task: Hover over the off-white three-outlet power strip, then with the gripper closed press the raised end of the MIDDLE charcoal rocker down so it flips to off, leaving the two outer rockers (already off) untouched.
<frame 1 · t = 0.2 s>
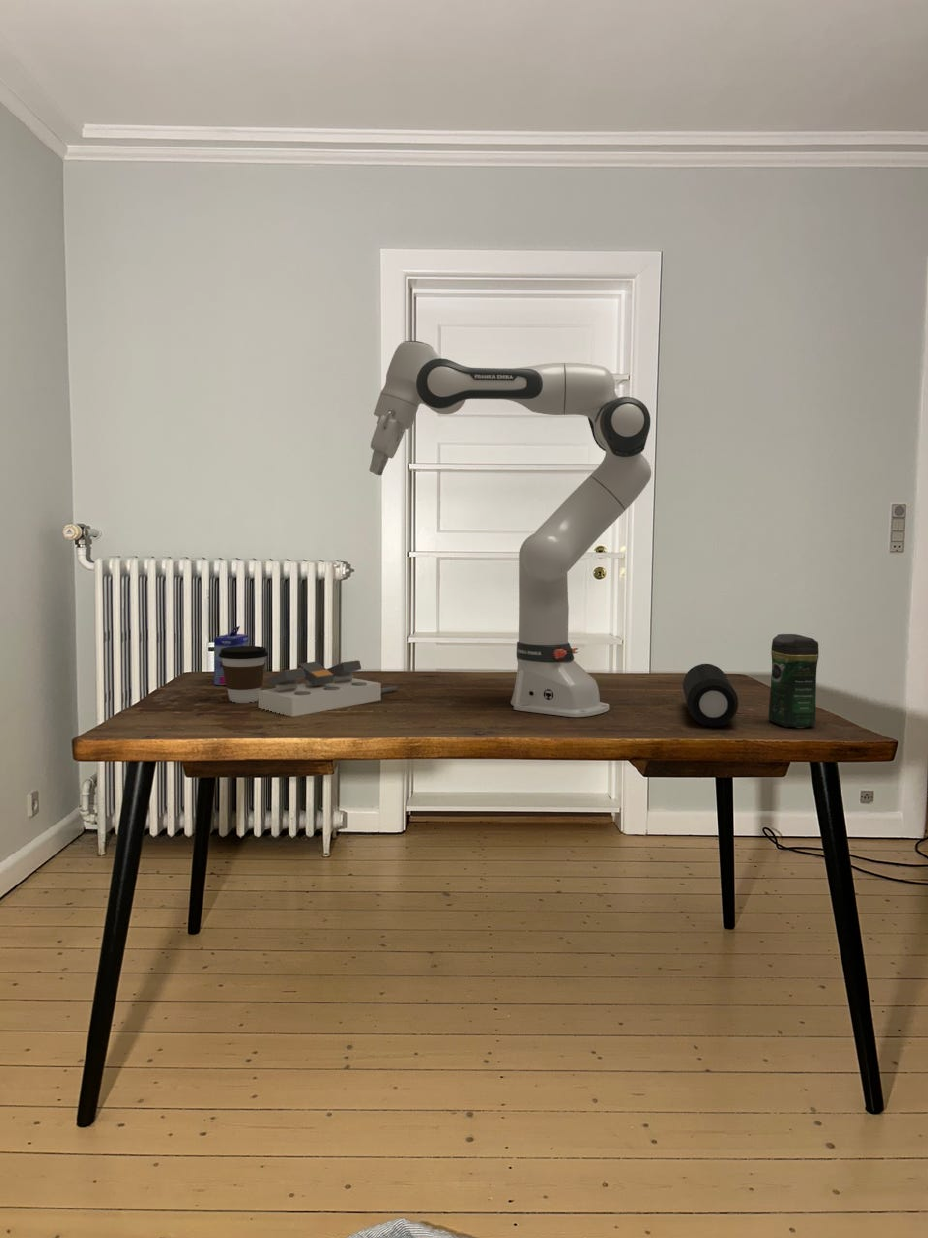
hand: (375, 473, 195), 52 cm above the table, tool tilted 20°, fingers open, 8 cm apart
coffee cup: (244, 701, 202), on the table
rocker 1: (342, 669, 204), point 7 cm above the table, hinge at 20.0°
ink cartridge box: (231, 683, 224), on the table
rocker 3: (286, 677, 193), point 7 cm above the table, hinge at 20.0°
rocker 2: (315, 673, 198), point 7 cm above the table, hinge at -20.0°
coffee jar: (791, 725, 181), on the table
power strip: (321, 704, 198), on the table
portable speaker: (708, 717, 188), on the table
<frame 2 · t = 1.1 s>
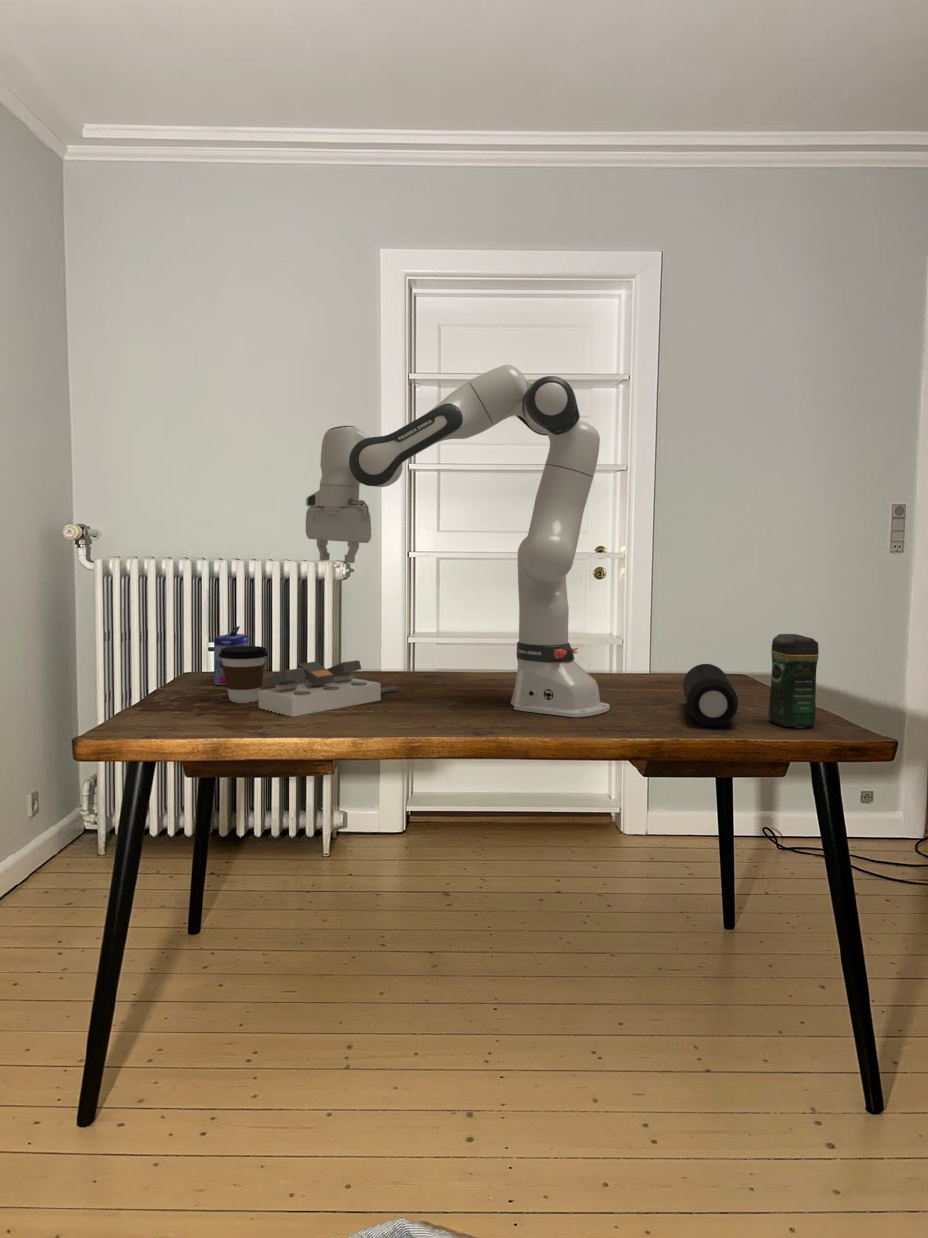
hand: (336, 561, 198), 32 cm above the table, tool pointing down, fingers open, 8 cm apart
nothing on the table moved.
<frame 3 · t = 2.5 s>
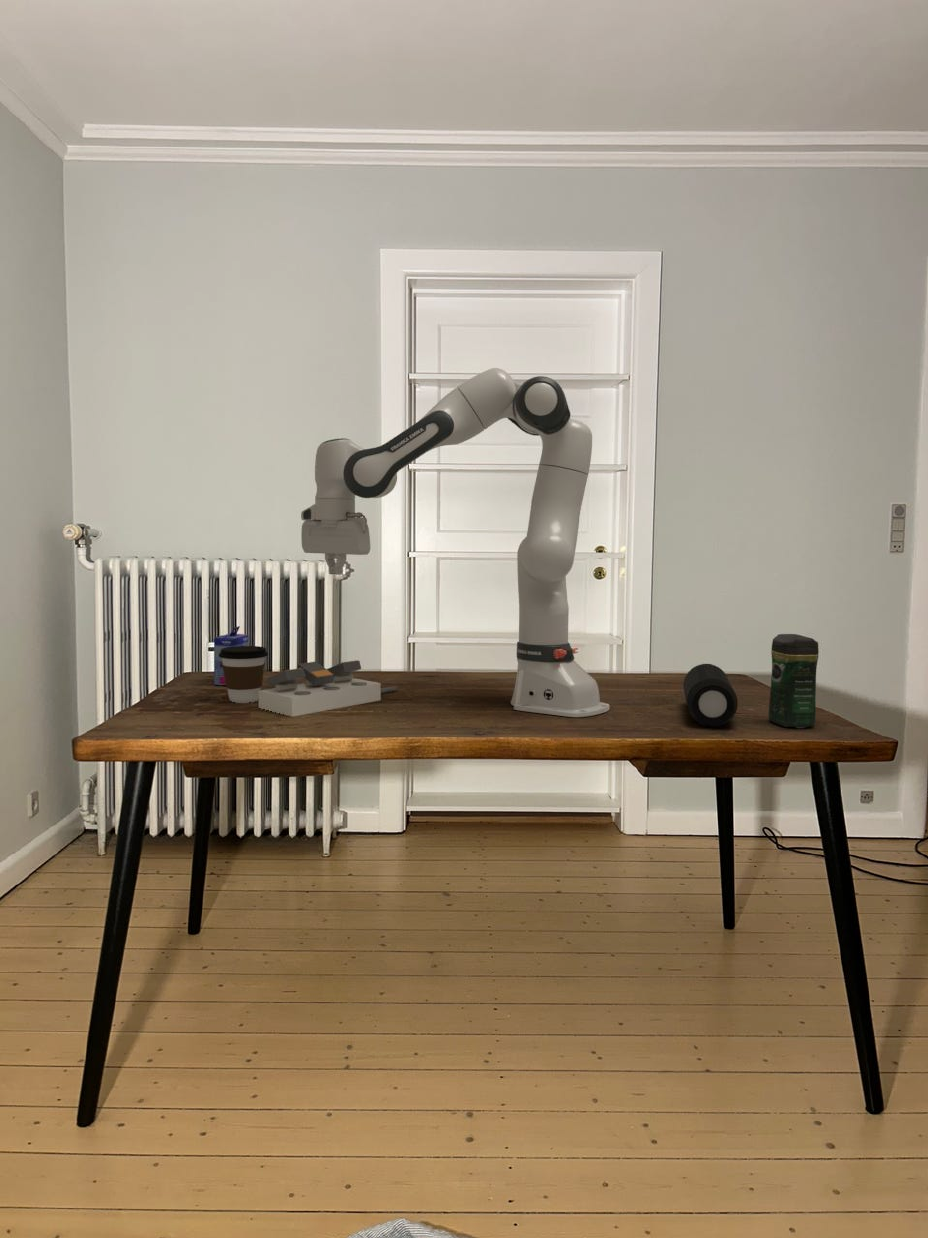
hand: (335, 574, 198), 29 cm above the table, tool pointing down, fingers closed
nothing on the table moved.
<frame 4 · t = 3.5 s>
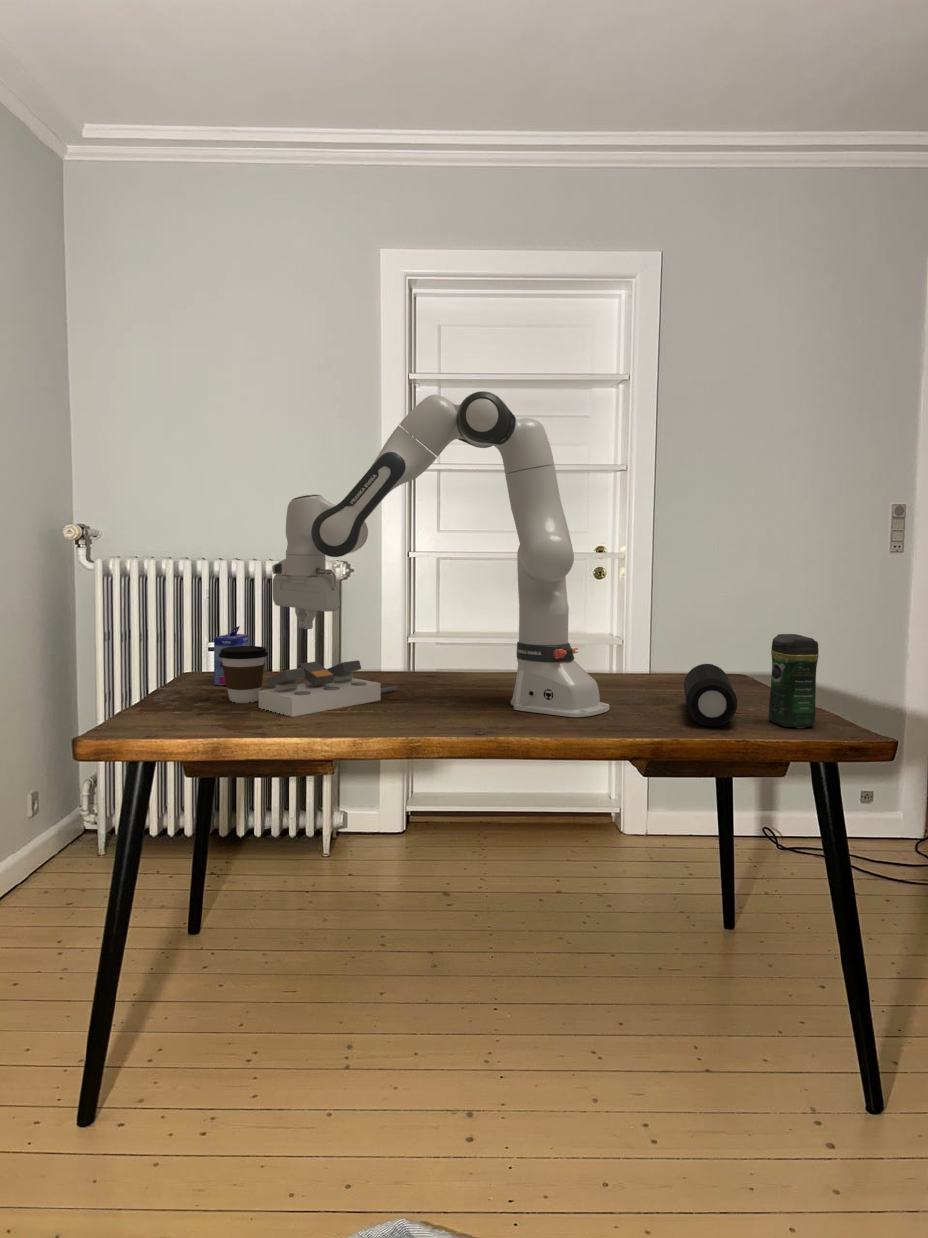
hand: (305, 628, 199), 17 cm above the table, tool pointing down, fingers closed
nothing on the table moved.
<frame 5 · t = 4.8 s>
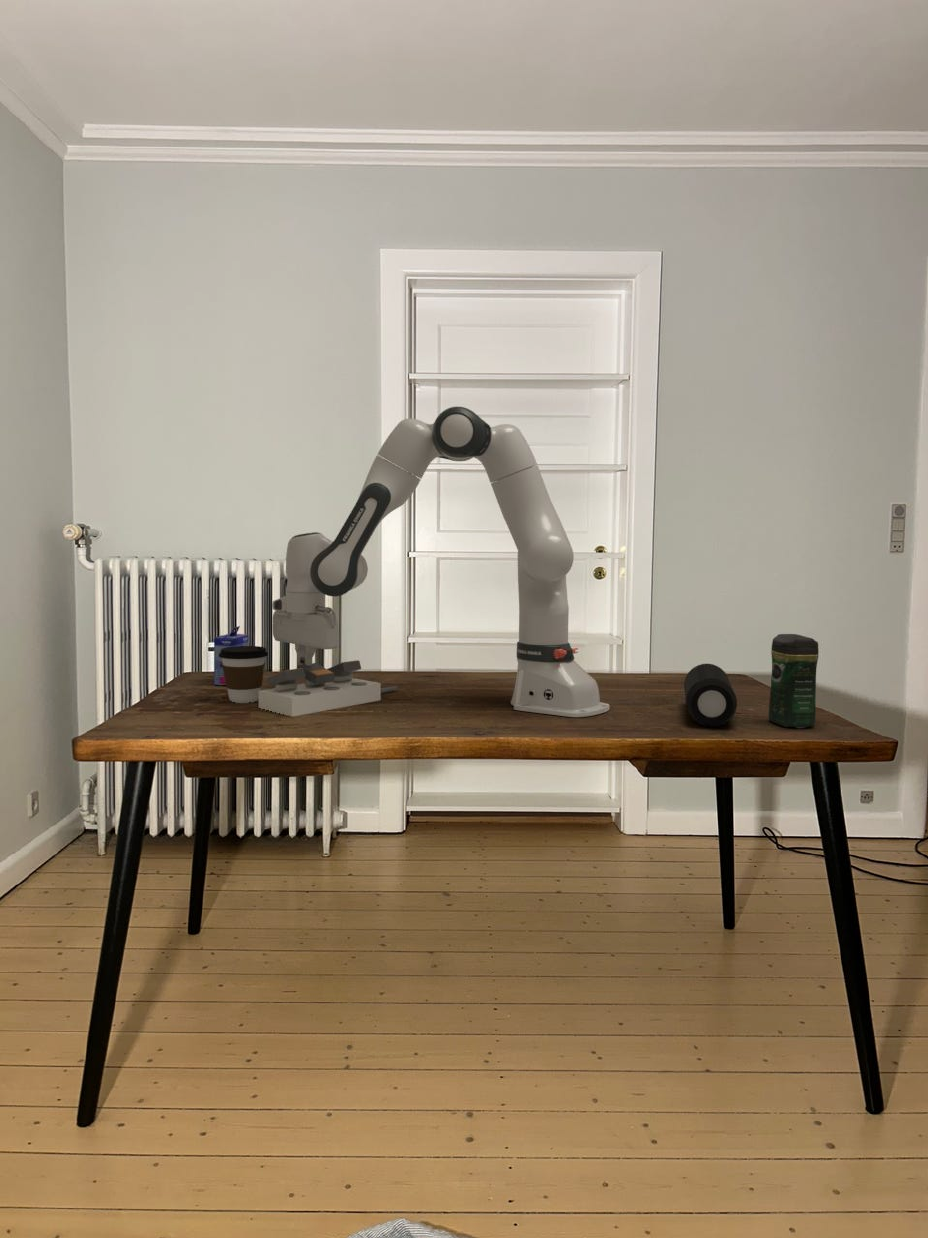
hand: (305, 664, 201), 8 cm above the table, tool pointing down, fingers closed
rocker 2: (315, 673, 198), point 7 cm above the table, hinge at -13.2°, touching gripper
everything else where it was.
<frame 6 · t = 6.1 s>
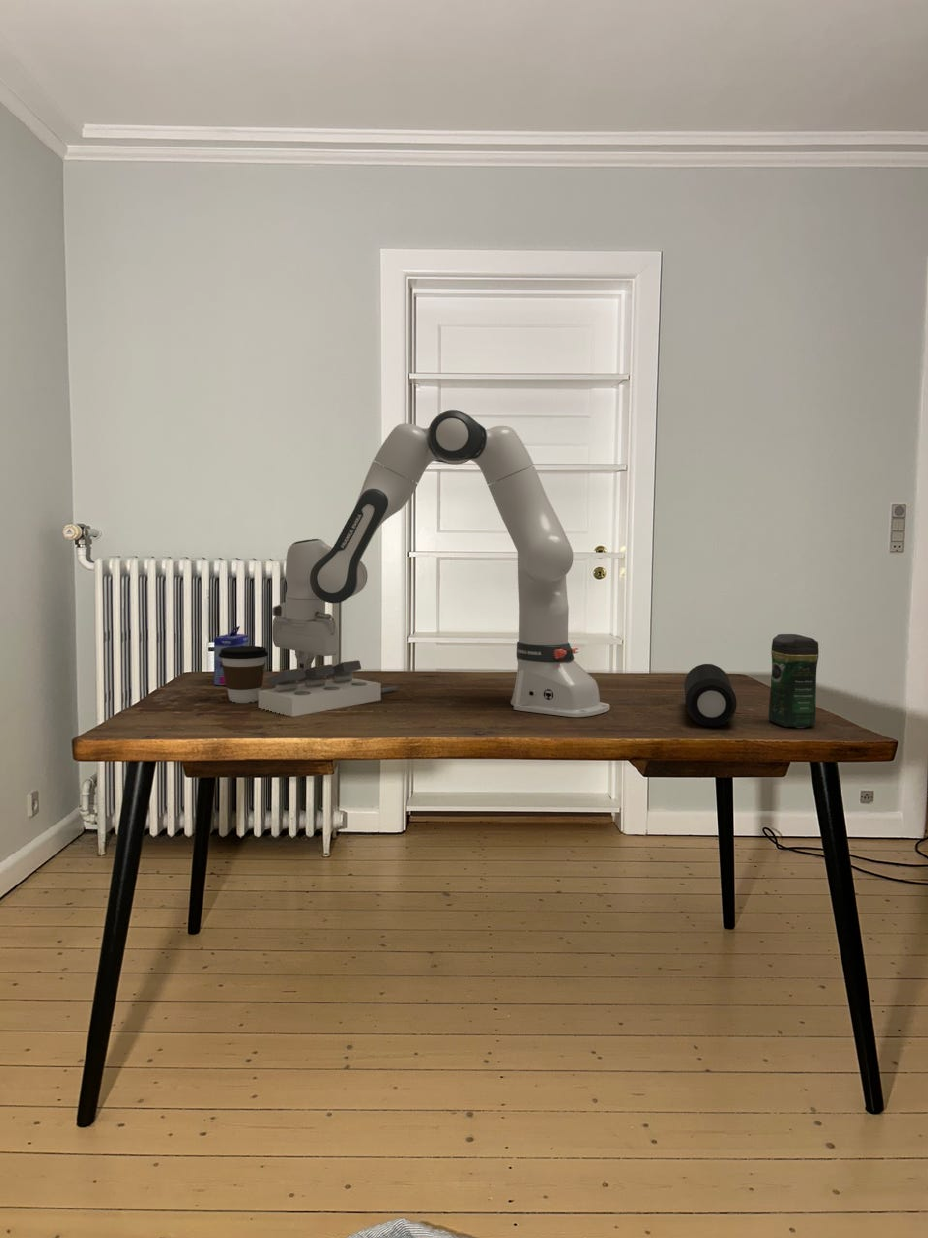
hand: (304, 671, 201), 7 cm above the table, tool pointing down, fingers closed
rocker 2: (315, 673, 198), point 7 cm above the table, hinge at 18.7°, touching gripper
everything else where it was.
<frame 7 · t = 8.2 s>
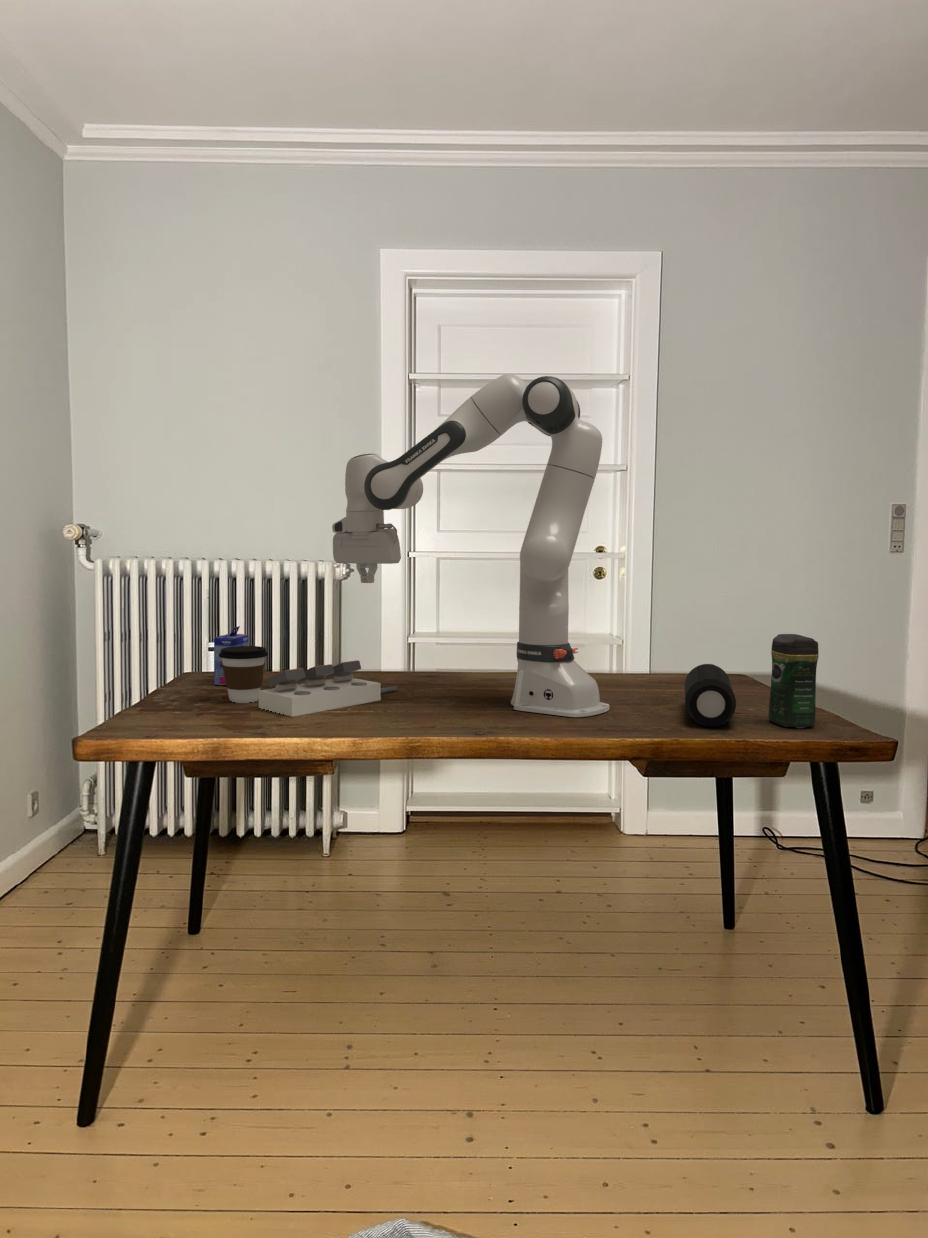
hand: (367, 582, 209), 27 cm above the table, tool pointing down, fingers closed
rocker 2: (315, 673, 198), point 7 cm above the table, hinge at 19.1°
everything else where it was.
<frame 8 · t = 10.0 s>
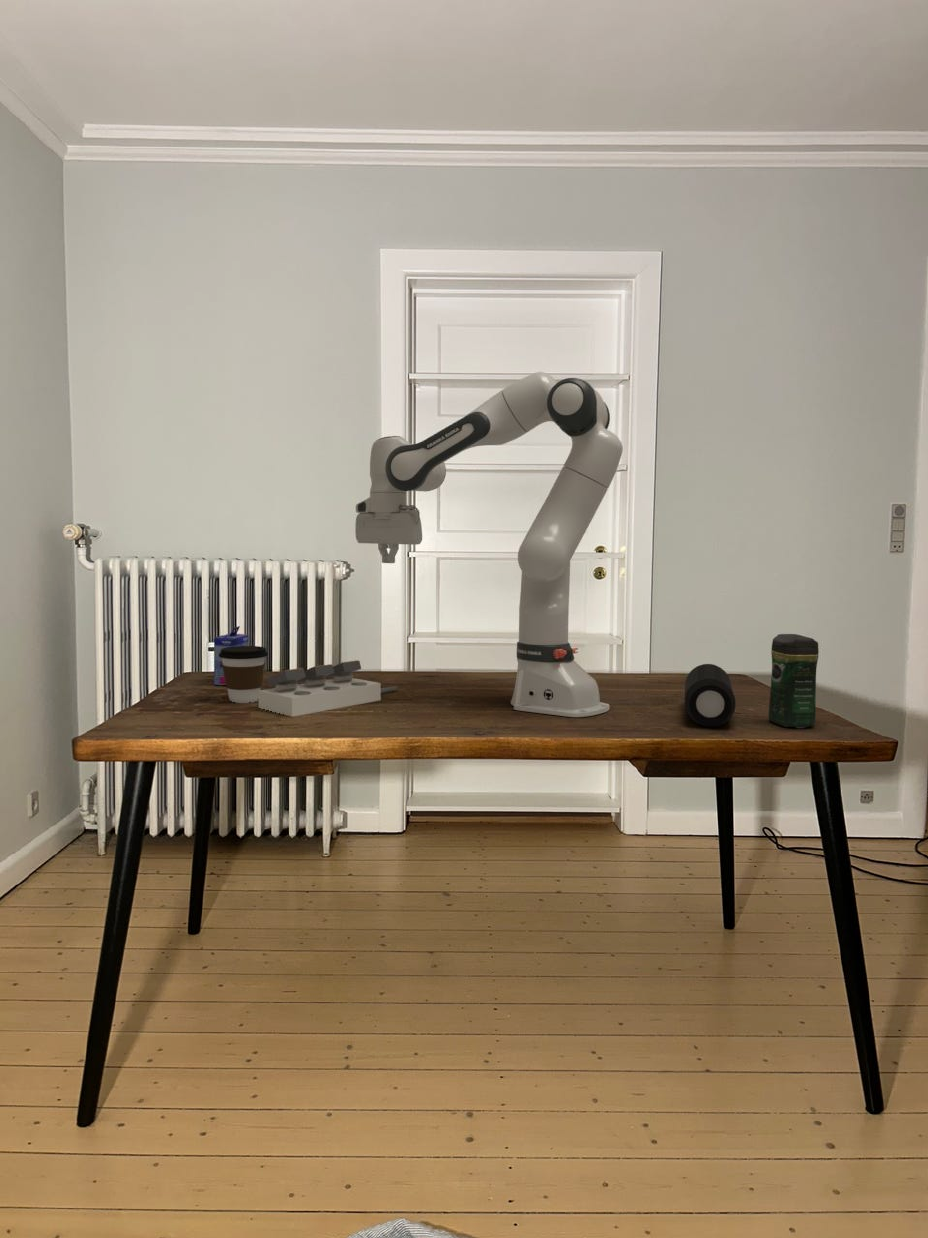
hand: (388, 563, 213), 31 cm above the table, tool pointing down, fingers closed
nothing on the table moved.
at the end: rocker 2 at +19° (first picture: -20°); rocker 1 at +20° (first picture: +20°); rocker 3 at +20° (first picture: +20°) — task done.
